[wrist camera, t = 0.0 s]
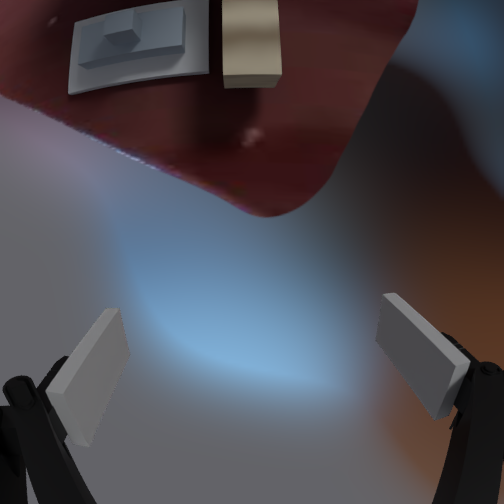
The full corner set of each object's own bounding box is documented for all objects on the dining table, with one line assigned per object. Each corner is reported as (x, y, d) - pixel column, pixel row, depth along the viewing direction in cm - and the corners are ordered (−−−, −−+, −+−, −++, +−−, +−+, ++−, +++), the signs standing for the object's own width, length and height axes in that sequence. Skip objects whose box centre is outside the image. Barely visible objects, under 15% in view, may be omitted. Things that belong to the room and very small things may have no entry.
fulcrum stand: (78, 25, 32) (53, 5, 24) (209, 1, 33) (205, -28, 25) (71, 95, 35) (42, 84, 27) (209, 73, 36) (203, 53, 28)
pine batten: (223, -44, 28) (222, -68, 22) (266, -44, 28) (271, -67, 23) (224, 88, 34) (223, 75, 28) (274, 87, 34) (281, 74, 29)
